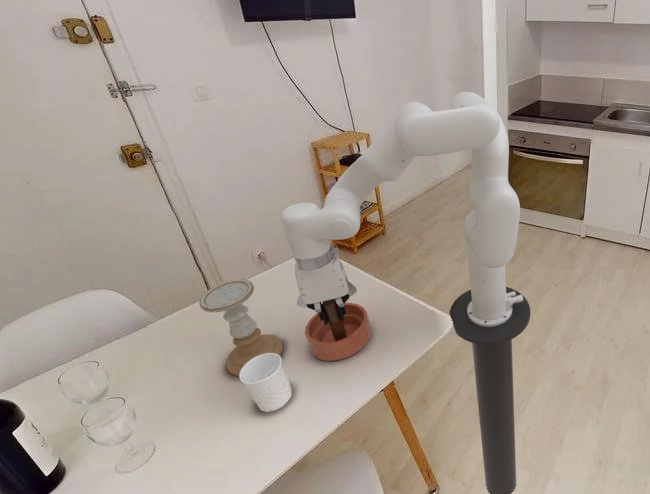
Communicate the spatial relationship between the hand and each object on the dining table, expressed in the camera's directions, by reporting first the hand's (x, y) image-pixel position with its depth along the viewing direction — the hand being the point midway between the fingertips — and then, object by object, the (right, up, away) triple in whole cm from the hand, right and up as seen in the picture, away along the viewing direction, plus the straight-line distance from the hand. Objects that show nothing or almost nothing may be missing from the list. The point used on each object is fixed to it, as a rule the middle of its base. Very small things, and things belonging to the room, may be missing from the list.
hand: (334, 318), depth 99 cm
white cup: (-9, -16, -9) cm, 20 cm away
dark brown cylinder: (0, -6, +3) cm, 7 cm away
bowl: (-1, -7, +6) cm, 9 cm away
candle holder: (-20, -10, +2) cm, 22 cm away
